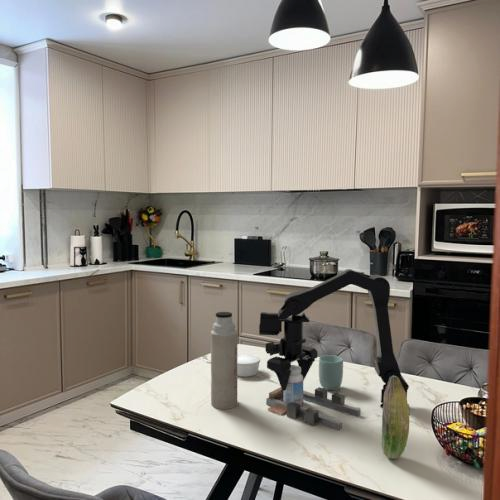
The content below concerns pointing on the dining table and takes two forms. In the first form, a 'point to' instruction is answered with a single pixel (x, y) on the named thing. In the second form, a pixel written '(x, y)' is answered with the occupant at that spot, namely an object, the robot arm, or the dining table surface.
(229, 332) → the thermos bottle
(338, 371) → the cup
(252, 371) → the ramekin
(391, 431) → the vegetable
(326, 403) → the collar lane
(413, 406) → the dining table surface
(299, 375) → the pill bottle
